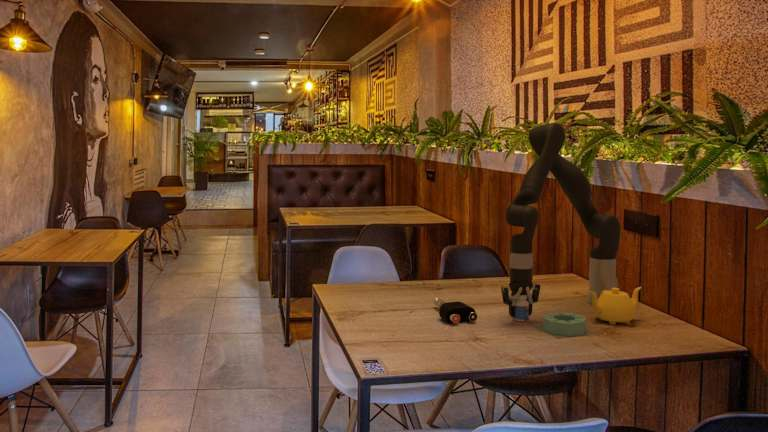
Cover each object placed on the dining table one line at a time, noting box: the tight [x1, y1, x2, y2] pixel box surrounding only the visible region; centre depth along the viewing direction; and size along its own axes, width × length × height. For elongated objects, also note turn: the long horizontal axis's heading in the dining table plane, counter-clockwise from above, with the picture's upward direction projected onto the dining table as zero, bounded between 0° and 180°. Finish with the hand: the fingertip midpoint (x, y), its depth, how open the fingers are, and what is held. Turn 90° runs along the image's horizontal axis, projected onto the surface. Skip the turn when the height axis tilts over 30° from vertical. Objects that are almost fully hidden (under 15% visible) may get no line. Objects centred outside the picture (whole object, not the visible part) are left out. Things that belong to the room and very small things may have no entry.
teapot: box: [588, 286, 642, 325], centre depth 214 cm, size 20×15×12 cm
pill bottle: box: [511, 295, 530, 325], centre depth 212 cm, size 6×5×10 cm
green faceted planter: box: [542, 311, 587, 337], centre depth 203 cm, size 12×12×4 cm
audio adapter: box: [433, 297, 478, 325], centre depth 223 cm, size 11×5×25 cm
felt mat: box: [532, 324, 597, 340], centre depth 203 cm, size 14×14×1 cm
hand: (520, 315), depth 213 cm, fingers closed on pill bottle, 5 cm apart
